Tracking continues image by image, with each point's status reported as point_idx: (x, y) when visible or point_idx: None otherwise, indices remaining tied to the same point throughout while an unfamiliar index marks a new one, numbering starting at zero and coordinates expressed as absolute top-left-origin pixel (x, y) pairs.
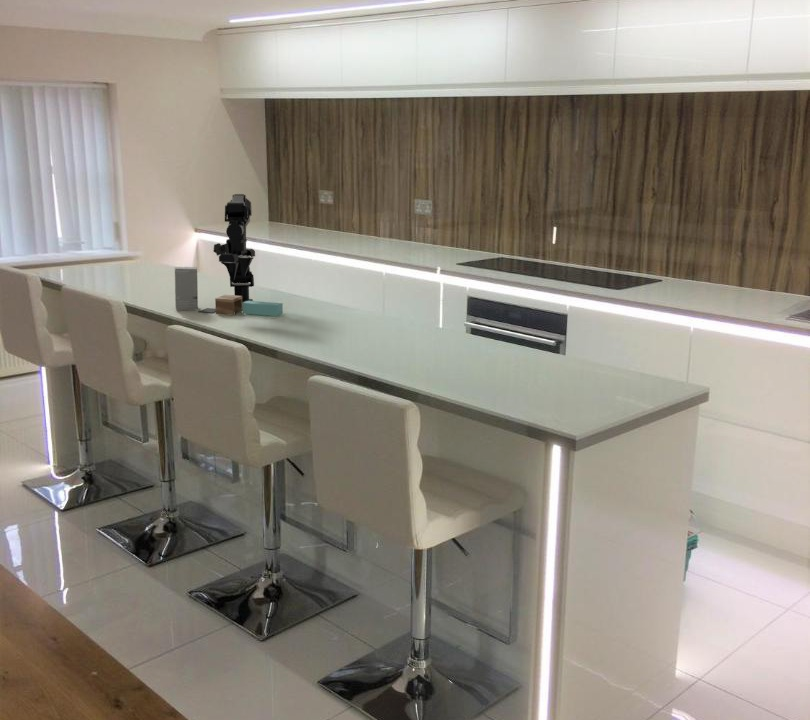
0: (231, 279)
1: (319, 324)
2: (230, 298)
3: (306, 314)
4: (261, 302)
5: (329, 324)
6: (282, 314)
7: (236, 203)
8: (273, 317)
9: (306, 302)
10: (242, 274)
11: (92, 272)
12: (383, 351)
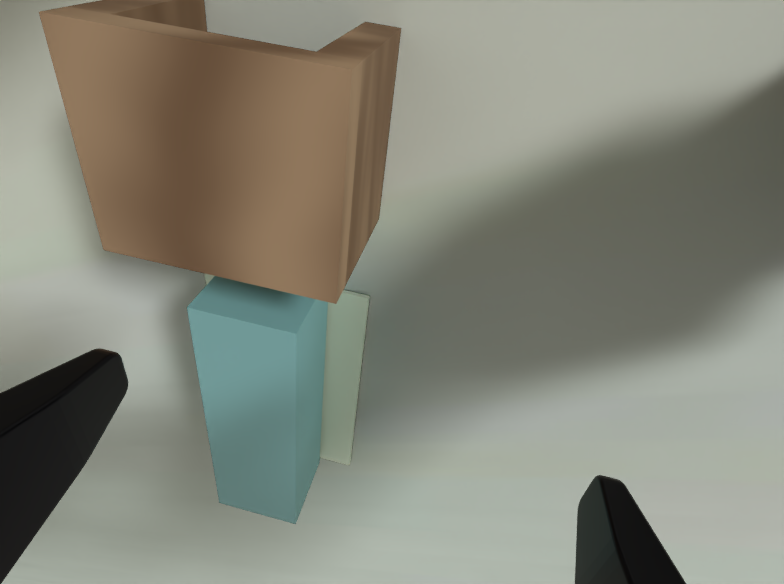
0: (92, 362)
1: (201, 551)
2: (145, 214)
3: (379, 534)
4: (267, 428)
5: (218, 572)
6: (326, 456)
7: None
8: None
9: (776, 562)
10: (598, 517)
11: None
12: None
